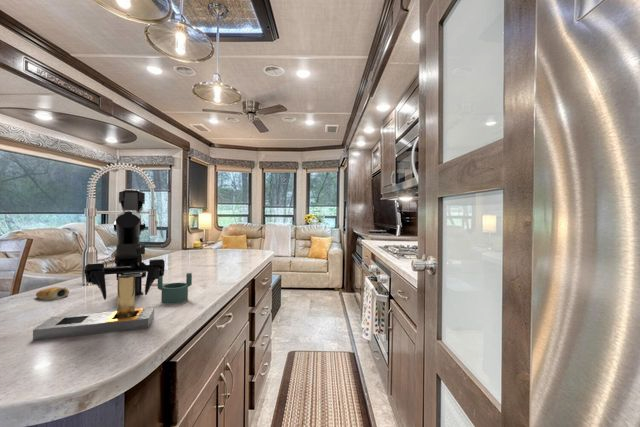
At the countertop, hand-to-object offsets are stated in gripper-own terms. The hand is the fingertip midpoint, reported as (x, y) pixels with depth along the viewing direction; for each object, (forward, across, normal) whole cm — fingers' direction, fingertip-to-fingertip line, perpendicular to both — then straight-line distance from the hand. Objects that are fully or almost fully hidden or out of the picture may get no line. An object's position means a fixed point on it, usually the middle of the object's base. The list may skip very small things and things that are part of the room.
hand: (125, 296), depth 79 cm
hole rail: (+4, -6, +7) cm, 10 cm away
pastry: (-24, -23, +36) cm, 49 cm away
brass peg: (+5, 0, +7) cm, 8 cm away
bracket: (-8, +14, +20) cm, 26 cm away
